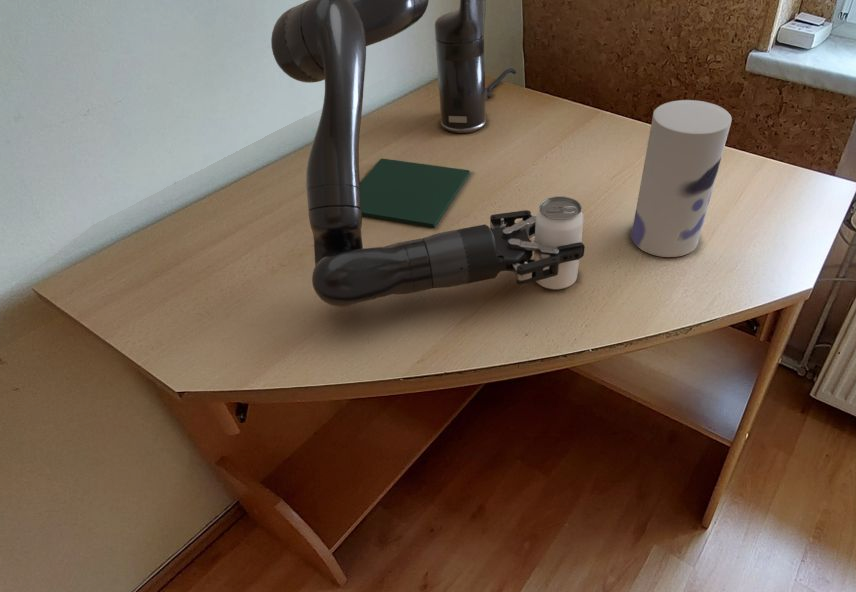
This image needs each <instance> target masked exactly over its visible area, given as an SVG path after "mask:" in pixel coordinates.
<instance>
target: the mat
mask: <svg viewBox="0 0 856 592" xmlns="http://www.w3.org/2000/svg"><path fill="white" fill-rule="evenodd" d="M470 175H471V170H470V169H463V168H456V167H448V166H440V165H433V164H427V163H426V164H425V163H418V162H411V161H405V160H397V159H396V160H395V159H389V158H380V159H379V160H378V162H377V163H375V165H374V166H373V167H372V168H371V169H370V170H369V172H368V173H367V174H366V175H365V176H364V178H363V179H362V180H360V191H361V205H362V209H361V210H362V217H365V218H371V219H377V220H378V219H379V220H381V221H382V220H384V221H388V222H395V223H401V224H407V225H414V226H420V227H424V228H425V227H426V228H430V229H436V227H437V225H438V223H439V222H440V220H441V219H442V218H443V216H444V214H445V213H446V211H447V210H448V208H449V207H450V206H451V204H452V202H453V200H454V199H455V197H456V196H457V194H458V193H459V192H460V190H461V189H462V187H463V185H464V184H465V182H466V181H467V179H468V178H469V176H470Z"/></svg>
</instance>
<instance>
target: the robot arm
mask: <svg viewBox="0 0 856 592" xmlns="http://www.w3.org/2000/svg"><path fill="white" fill-rule="evenodd" d="M429 1H430V0H306V1H304V2H301V3H300V4H297V5H295V6H292V7H290V8H289V9H287V10H286V11H284V12H283V13H282V14H281V15H280V16H279V17H278V19H277V20H276V21H275V24H274V26H273V28H272V32H271V39H270V41H271V42H270V43H271V44H270V45H271V52H272V55H273V58H274V60H275V62H276V64H277V66H278V68H279V69H280V70H281V71H282V72H283V73H284V74H286V75H287V76H288V77H290V78H291V79H293V80H295V81H298V82H301V83H305V84H306V83H307V84H312V83H319V82H322V81H324V94H323V95H324V96H323V103H322V108H321V114H320V118H319V122H318V125H317V129H316V131H315V134H314V137H313V141H312V143H311V147H310V151H309V154H308V159H307V164H306V175H305V183H306V185H305V186H306V198H307V211H308V219H309V226H310V230H311V233H312V236H313V249H314V251H313V252H314V268H313V270H312V275H311V283H312V287H313V291H314V292H315V294H316V295H317V297H318V298H319V299H320V300H321V301H323V302H324V303H326V304H327V305H329V306H331V307H337V308H345V307H350V306H352V305H356V304H360V303H364V302H368V301H371V300H372V301H373V300H376V299H380V298H384V297H387V296H392V295H396V296H397V295H398V296H399V295H408V294H413V293H421V292H423V291H430V290H434V289H446V288H454V287H458V286H464V285H468V284H473V283H479V282H483V281H484V282H485V281H488V280H493V279H496V278H497V276H498V275H499V274H500V273H501V272H513V273H514V275H515V277H516V280H515V281H516V284H517V285H518V286H524V285H527V284H531V283H534V282H536V281H538V280H542V279H546V278H550V277H553V276H556V275H558V268H559V264H560V263H564V262H569V261H574V260H579V261H580V259H582V258H584V256H585V248H586V247H585V244H584V243H583V242H582V241H581V242H578V243H573V244H569V245H563V246H558V247H557V248H554V247H544V246H542V244H541V243H536V242H535V241H532V240H530V239H532V238H533V237H535V224H536V215H532V212H531V210H529V209H525V210H524V209H523V210H518V211H509V212H502V213H495V214H491V215H490V218H489V219H490V221H489V224H490V225H488V224H480V225H474V226H469V227H463V228H459V229H454V230H453V229H452V230H448V231H442V232H438V233H435V234H431V235H430V236H426V237H425V236H424V237H422V238H415V239H412V240H411V239H410V240H406V241H405V240H404V241H400V242H395V243H392V244H389V245H386V246H377V247H376V246H375V247H366V248H365V247H364V245H363V238H362V227H363V216H362V210H361V209H362V205H361V191H360V182H361V180H360V179H361V178H360V136H361V124H362V114H363V102H364V89H365V88H364V87H365V77H366V75H365V74H366V64H367V63H366V62H367V47H368V46H371V45H375V44H377V43H380V42H383V41H386V40H388V39H390V38H392V37H395V36H397V35H398V34H401V33H402V32H404V31H406V30H407V29H409V28H410V27H412V26H413V25H415V24H416V23H417V22H419V21H420V20H421V18H422V17H423V16H424V15H425V13H426V11H427V8H428V5H429ZM485 19H486V0H459V8H457V9H455V10H451V11H448V12H447V13H444V14H442V15H440V16H439V17H438V18H436V20H435V22H434V39H435V41H434V42H435V54H436V67H437V68H436V69H437V81H438V82H437V83H438V94H439V95H438V96H439V110H440V111H439V112H440V126H441V128H442V129H444V130H445V131H447V132H450V133H455V134H467V133H473V132H477V131H479V130H481V129H483V128H484V126H485V125H486V124H487V116H486V102H487V101H488V98H491V97H492V90H493V89H494V88H495V87H496V86H497V85H498V84H499V83H500V82H501V81H502V80H503V79H504V78H505V77H506V76H507V75H509V74H510V73H512V74H513V75H516V74H517V73H518V72H517V70H516V69H514V68H512V67H511V68H507V69H506V70H504V71H503V72H502V73H501V74H500V75H498V77H497V78H496V79H495V80H494V81H493V82H492V83H491V84H489V86H488V87H486V71H485V70H486V68H485V65H486V64H485V21H486V20H485ZM519 219H521V220H519ZM516 220H519V221H518V222H515V221H516ZM534 252H535V259H534V258H533V259H532V257H534ZM542 254H543V255H550V257H549V258H542V257H541V255H542ZM545 267H549V269H547V270H543V269H544V268H545Z"/></svg>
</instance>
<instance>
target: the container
mask: <svg viewBox="0 0 856 592" xmlns="http://www.w3.org/2000/svg"><path fill="white" fill-rule="evenodd" d="M732 118H733V117H732V116H731V114H730V113H729V111H727V110H726V109H725V108H723V107H722V106H719V105H717V104H714V103H712V102H708V101H702V100H696V99H695V100H694V99H680V100H673V101H668V102H665V103H663V104H660V105H659V106H658V107H656V108H655V109H654V111H653V113H652V119H651V125H650V129H649V135H648V139H647V146H646V152H645V158H644V162H643V168H642V174H641V180H640V185H639V190H638V197H637V202H636V207H635V212H634V218H633V223H632V224H633V225H632V228H631V240H632V242H633V244H634V245H635V246H636V247H637V248H639V250H641V251H643V252H645V253H648V254H650V255H652V256H656V257H663V258H676V257H677V258H678V257H682V256H685V255H688V254H690V253H692V252H693V251H694V250H696V248H697V246H698V244H699V241H700V237H701V234H702V230H703V226H704V223H705V219H706V216H707V212H708V208H709V204H710V201H711V198H712V193H713V190H714V186H715V182H716V180H717V179H716V178H717V175H718V172H719V169H720V164H721V160H722V157H723V153H724V150H725V146H726V143H727V138H728V135H729V133H730V128H731V124H732V122H733V119H732Z"/></svg>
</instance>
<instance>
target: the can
mask: <svg viewBox="0 0 856 592" xmlns="http://www.w3.org/2000/svg"><path fill="white" fill-rule="evenodd" d="M535 216H536V224H535V236H534V242H536V243H541V244H542V246H544V247H554V248H557V247H558V246H563V245H569V244H573V243H578V242H582V239H583V238H582V237H583V230H584V229H583V228H584V214H583V210H582V205H581V203H580V201H578V200H577V199H575V198H572V197H568V196H561V195H559V196H550V197H547V198H546V199H544V200H542V202H541V203H540V204H539V209H538V210H537V213H536V214H535ZM541 257H542V258H549V257H550V255H543V254H542V255H541ZM533 259H535V252H534V251H533ZM579 264H580V259H579V260H574V261H569V262H564V263H560V264H559V268H558V275H556V276H553V277H550V278H546V279H542V280H538V281H535V282H536V283H537V284H538V285H539V286H541V287H542V288H544V289H546V290H547V289H548V290H553V291H558V290H559V291H560V290H564V289H567V288H569V287H570V286H572V285H574V284H575V282H576V281H577V279H578V274H579V273H578V272H579V267H580V266H579ZM547 269H549V267H545V268H544V269H543V270H547Z"/></svg>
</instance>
